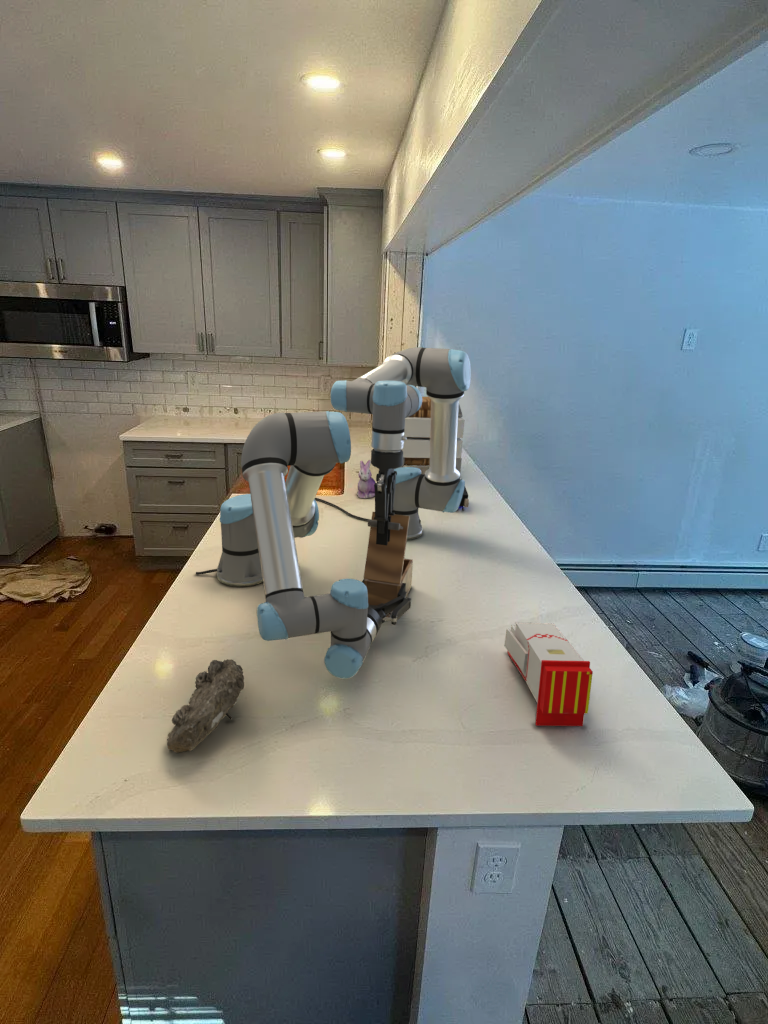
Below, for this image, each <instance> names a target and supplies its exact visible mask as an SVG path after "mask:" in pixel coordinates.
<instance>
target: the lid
mask: <svg viewBox="0 0 768 1024" xmlns="http://www.w3.org/2000/svg"><path fill="white" fill-rule="evenodd" d="M389 516H391V522H389V524H388V529H390V541H389V542H388V544H387V546H386V545H379V544H376V534H377V520H374V517H375V511H372V513H371V519H372V520H370V518H368V519H369V520H368V521H367V527H369V528H370V529H369V535H368V542H367V550H366V558H365V564H364V565H365V567H364V572H363V579H370V580H377V581H383V582H390V583H397V584H401V579H402V571H403V564H404V559H405V555H406V548H407V542H408V540H407V534H408V526H409V519H410V516H404V515H396V514H394V516H392V515H389Z"/></svg>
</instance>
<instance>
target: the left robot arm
mask: <svg viewBox="0 0 768 1024" xmlns="http://www.w3.org/2000/svg"><path fill="white" fill-rule="evenodd" d="M351 439H352V438H351V432H350V428H349V424H348V420H347V419H346V416H345V415H344V413H342V412H340V411H329V410H326V411H303V412H275V413H271V414H269V415H267V416H265V417H263V418H262V419H260V420H259V421H258V422H257V423H256V424H255V425H254V426H253V428H251V430H250V432H249V433H248V435H247V436H246V439H245V442H244V444H243V448H242V451H241V456H240V457H241V459H240V467H241V473H242V478H243V480H245V481H246V482H248V488H249V493H245V494H237V495H235V496H233V497H232V496H231V497H230V498H228V499H226V500H224V502H222V504H221V505H220V508H219V522H220V535H221V554H220V559H219V562H218V565H217V567H216V568H213V569H207V570H202V571H196V572H195V575H196V576H199V575H201V576H202V575H205V574H206V575H207V574H210V573H216V578H217V580H218V581H219V582H220V583H221V584H223V585H225V586H230V587H236V588H237V587H239V588H241V587H242V588H243V587H253V586H256V585H259V584H263V591H264V597H265V601H264V602H262V603H259V604H258V605H257V607H256V618H257V620H256V621H257V627H258V632H259V635H260V637H261V639H262V640H263V641H265V642H272V641H281V640H285V641H288V640H289V639H293V638H299V637H305V636H310V635H315V634H322V633H323V634H324V633H329V632H330V645H329V647H328V648H327V650H326V653H325V655H324V659H323V660H324V662H323V663H324V666H325V669H326V670H327V671H328V672H329V674H331V675H332V676H334V677H335V678H338V679H341V680H342V679H343V680H345V679H350V678H353V677H354V676H356V675H357V673H358V671H359V670H360V669H361V667H362V666H363V665H364V661H365V659H366V658H367V657H366V656H367V654H368V652H369V650H370V648H371V646H372V644H373V642H374V640H375V638H376V636H377V634H378V632H379V631H380V628H381V626H382V624H384V623H385V622H390V624H391V625H392V626H395V625H397V623H398V620H399V619H400V618H402V617H403V616H404V615H405V614H406V613H407V612H408V611H409V610H410V609H411V606H412V605H411V604H412V598H410V597H408V595H407V592H405V589H406V583H403V584H402V586H401V588H400V590H399V592H398V595H397V598H395V599H393V600H391V601H389V602H387V603H385V604H383V603H381V604H379V605H377V606H376V605H370V604H368V592H367V587H366V586H365V585H364V580H365V579H364V578H362V579H363V580H359V579H355V578H341V579H338V580H336V581H334V582H333V583H332V585H331V587H330V591H329V593H323V594H317V595H310V596H305V593H304V588H303V581H302V574H301V568H300V563H299V557H298V551H297V545H296V539H295V538H299V539H301V538H305V537H310V536H312V535H314V534H315V533H316V531H317V530H318V527H319V521H320V511H319V506H318V502H317V500H315V498H316V496H317V494H318V491H319V489H320V487H321V484H322V482H323V479H324V478H325V476H326V475H328V474H330V473H331V472H332V471H333V470H334V468H335V467H336V464H344V463H347V462H349V461H350V459H351V455H352V440H351ZM289 466H290V467H289ZM288 468H289V469H288ZM285 477H286V479H285ZM389 613H390V614H389Z"/></svg>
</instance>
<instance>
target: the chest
mask: <svg viewBox="0 0 768 1024" xmlns="http://www.w3.org/2000/svg"><path fill="white" fill-rule="evenodd" d="M413 566H414V560H413V559H410V558H404V564H403V571H402V579H401V584H397V583H390V582H383V581H377V580H370V579H365V580H364V585H365V586H366V587H367V592H368V604H370V605H376V606H377V605H379V604H381V603H383V604H385V603H387V602H389V601H391V600H393V599H395V598H397V595H398V592H399V590H400V588H401V586H402V584H403V583H406V589H405V592H407V596H408V595H409V593H410V591H411V588H412V583H413V582H412V580H413V568H414V567H413ZM389 614H390V613H389ZM389 614H388V615H389Z"/></svg>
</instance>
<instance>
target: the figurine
mask: <svg viewBox="0 0 768 1024" xmlns="http://www.w3.org/2000/svg"><path fill="white" fill-rule="evenodd" d="M371 465H372V464H371V459H368V460H367V461H366V463H364V461H363V460H360V461H359V467H360V468H359V471H358V475H357V476H358V478H359V480H358V482H357V494H356V495H357V497H358V498H361V499H370V498H374V497H375V489H374V484H375V483H377V481H376V479H374V478H373V477H372V476H373V475H372V471H371V469H370V467H371Z"/></svg>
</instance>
